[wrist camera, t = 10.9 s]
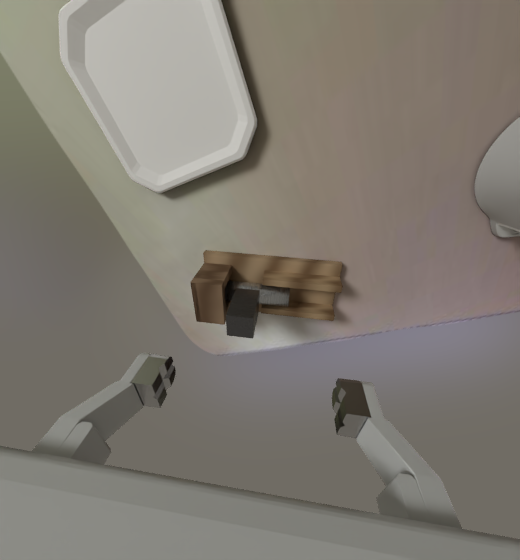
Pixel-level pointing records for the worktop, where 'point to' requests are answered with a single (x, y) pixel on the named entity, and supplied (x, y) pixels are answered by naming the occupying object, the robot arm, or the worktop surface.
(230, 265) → the cradle
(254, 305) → the grey mallet
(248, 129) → the plate
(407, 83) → the worktop surface
